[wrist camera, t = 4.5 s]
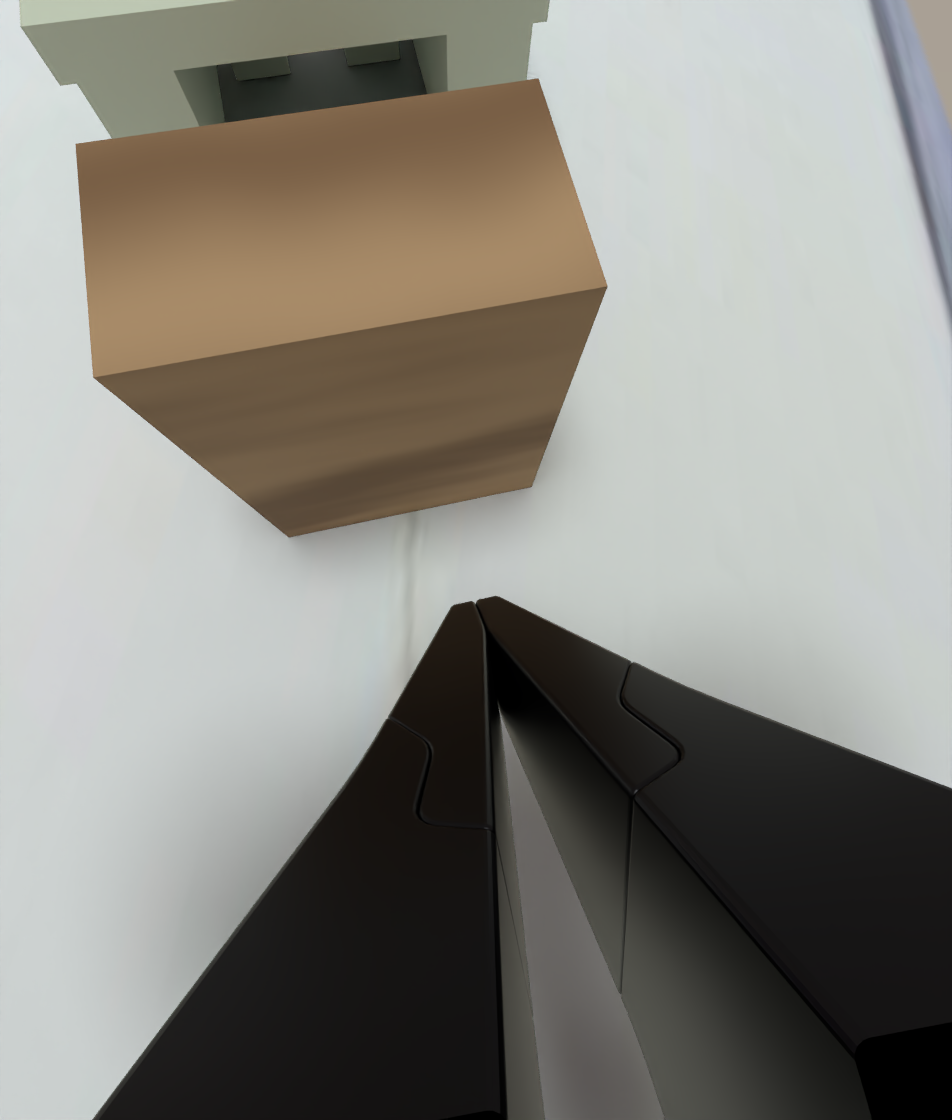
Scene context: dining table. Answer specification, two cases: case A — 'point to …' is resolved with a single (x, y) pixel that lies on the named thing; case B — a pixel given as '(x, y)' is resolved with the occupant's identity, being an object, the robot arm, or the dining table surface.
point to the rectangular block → (345, 298)
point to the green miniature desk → (261, 47)
